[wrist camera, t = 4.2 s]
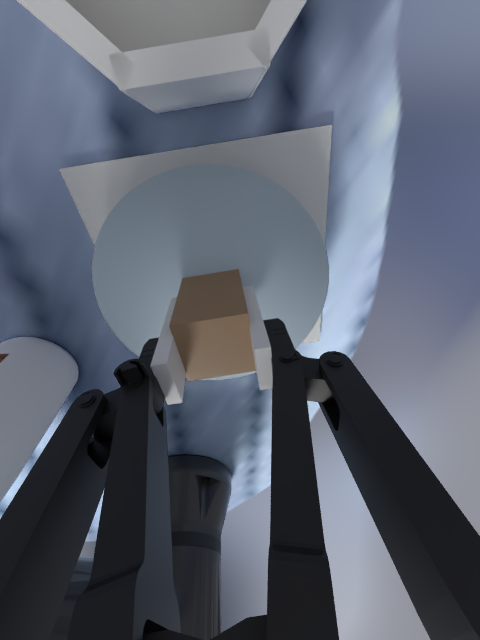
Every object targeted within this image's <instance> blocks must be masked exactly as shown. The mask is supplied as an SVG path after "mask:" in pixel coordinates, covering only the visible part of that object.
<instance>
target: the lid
mask: <svg viewBox="0 0 480 640" xmlns="http://www.w3.org/2000/svg"><path fill="white" fill-rule="evenodd" d="M92 281H93V289H94V293H95V297H96V300H97V304H98V306H99V308H100V311H101V313H102V315H103V317H104V319H105V321H106V322H107V324H108V326H109V327H110V329H111V330H112V331H113V333H114V334H115V335H116V336H117V338H118V339H119V340H120V341H121V342H122V343H123V344H124V345H125V346H126V347H127V348H128V349H129V350H130V351H132V352H133V353H134V354H136V355H137V356H138V357H140V354H141V351H142V348H143V346H144V344H145V343H146V342H147V341H148V340H149V339H152V338H158V337H159V336H160V333H161V330H162V327H163V324H164V320H165V317H166V314H167V311H168V308H169V304H170V301H171V298H175V297H177V299H176V303H175V306H174V310H173V314H172V317H171V321H170V324H169V327H170V330H171V333H172V336H173V337H174V340H175V343H176V346H177V349H178V352H179V354H180V357H181V360H182V363H183V366H184V369H185V371H186V377H187V378H188V381H196V380H225V379H233V378H238V377H243V376H247V375H250V374H253V373H256V368H255V363H254V355H253V348H252V341H251V334H250V326H249V324H250V323H249V316H248V310H247V305H246V301H245V296H244V291H243V287H244V286H251V285H253V288H254V291H255V294H256V298H257V301H258V305H259V308H260V311H261V315H262V318H263V320H268V319H275V318H279V319H280V320H282V321H283V322H284V324H285V326H286V329H287V331H288V334H289V336H290V338H291V341H292V343H293V346H294V348H295V349H296V348H297V347H298V346H299V345H300V344H301V343H302V342H303V341H304V340H305V338H306V337H307V336H308V334H309V333H310V332H311V330H312V329H313V327H314V325H315V324H316V322H317V320H318V319H319V316H320V314H321V312H322V309H323V307H324V303H325V300H326V296H327V291H328V283H329V264H328V258H327V252H326V248H325V245H324V242H323V239H322V236H321V234H320V232H319V230H318V228H317V226H316V224H315V222H314V221H313V219H312V218H311V216H310V215H309V213H308V212H307V210H306V209H305V208H304V207H303V206H302V205H301V204H300V203H299V201H298V200H297V199H296V198H295V197H294V196H292V195H291V194H290V193H289V192H287V191H286V190H285V189H284V188H282V187H281V186H280V185H278V184H276V183H275V182H273V181H271V180H269V179H268V178H266V177H264V176H262V175H259V174H257V173H254V172H251V171H249V170H246V169H243V168H238V167H234V166H229V165H222V164H196V165H187V166H183V167H179V168H175V169H171V170H167V171H165V172H162V173H160V174H158V175H155V176H153V177H151V178H149V179H147V180H146V181H144V182H142V183H141V184H139V185H138V186H136V187H134V188H133V189H132V190H131V191H130V192H129V193H128V194H126V195H125V196H124V197H123V198H122V199H121V200H120V201H119V202H118V203H117V205H116V206H115V207H114V208H113V209H112V211H111V212H110V213H109V215H108V217H107V218H106V220H105V222H104V224H103V225H102V227H101V229H100V232H99V235H98V237H97V240H96V243H95V247H94V252H93V258H92Z"/></svg>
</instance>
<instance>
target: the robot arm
mask: <svg viewBox="0 0 480 640" xmlns="http://www.w3.org/2000/svg"><path fill="white" fill-rule="evenodd" d="M243 291H244V296H245V301H246V305H247V310H248V316H249V323H250V324H249V326H250V334H251V341H252V348H253V355H254V363H255V368H256V373H257V378H258V384H259V389H260V390H266V389H272V454H271V523H270V525H271V526H270V547H269V558H268V598H267V615H262V616H256V617H249V618H246V619H244V620H243V621H241V622H239V623H237V624H236V625H234V626H232V627H231V628H229V629H227V630H226V631H224V632H222V600H221V533H222V528H223V524H224V520H225V516H226V512H227V508H228V503H229V499H230V495H231V474H230V471H229V470H228V468H227V467H226V466H224V465H223V464H221V463H220V462H218V461H215V460H213V459H210V458H206V457H201V456H192V455H180V456H171V457H168V449H167V427H166V411H165V408H164V406H163V403H164V399H165V400H166V402H167V404H168V405H170V404H177V403H182V402H183V395H184V387H185V380H186V371H185V369H184V366H183V363H182V360H181V357H180V354H179V352H178V349H177V346H176V343H175V340H174V337H173V336H172V333H171V330H170V327H169V324H170V321H171V317H172V314H173V310H174V306H175V303H176V299H177V297H175V298H171V301H170V304H169V308H168V311H167V314H166V317H165V320H164V324H163V327H162V330H161V333H160V336H159V337H158V338H152V339H149V340H148V341H147V342H146V343H145V344H144V346H143V348H142V351H141V354H140V358H139V359H132V360H128V361H126V362H124V363H122V364H120V365H119V366H118V367H117V368H116V369H115V371H114V375H115V377H116V379H117V380H118V382H119V384H120V386H121V387H120V388H118V389H116V390H114V391H111V392H109V393H106V394H103V392H102V391H100V390H99V389H93V390H90V391H87V392H85V393H83V394H81V395H80V396H79V397H78V398H77V399H76V400H75V401H74V402H73V404H72V405H71V407H70V408H69V410H68V412H67V413H66V415H65V416H64V418H63V420H62V421H61V423H60V424H59V426H58V428H57V429H56V431H55V432H54V434H53V436H52V437H51V439H50V440H49V442H48V444H47V445H46V447H45V448H44V450H43V452H42V453H41V455H40V456H39V458H38V460H37V461H36V463H35V465H34V466H33V468H32V469H31V471H30V473H29V474H28V476H27V477H26V479H25V481H24V482H23V484H22V485H21V487H20V489H19V490H18V492H17V493H16V495H15V497H14V498H13V500H12V501H11V503H10V505H9V506H8V508H7V509H6V511H5V513H4V514H3V516H2V517H1V519H0V640H339V636H338V628H337V620H336V612H335V604H334V596H333V588H332V581H331V574H330V567H329V561H328V556H327V553H326V549H325V543H324V536H323V528H322V519H321V511H320V503H319V495H318V487H317V479H316V470H315V463H314V455H313V447H312V438H311V430H310V422H309V414H308V405H307V401H315V402H318V403H319V405H320V407H321V409H322V412H323V414H324V416H325V418H326V420H327V422H328V424H329V426H330V428H331V431H332V433H333V435H334V437H335V439H336V441H337V444H338V446H339V448H340V450H341V452H342V454H343V456H344V458H345V461H346V463H347V464H348V467H349V469H350V471H351V473H352V475H353V478H354V479H355V482H356V484H357V486H358V488H359V490H360V492H361V494H362V497H363V499H364V500H365V503H366V505H367V507H368V509H369V511H370V514H371V516H372V518H373V520H374V522H375V524H376V526H377V529H378V531H379V533H380V535H381V537H382V539H383V541H384V543H385V545H386V547H387V550H388V552H389V554H390V556H391V558H392V560H393V562H394V565H395V567H396V569H397V571H398V573H399V575H400V577H401V580H402V582H403V584H404V586H405V588H406V590H407V592H408V594H409V596H410V598H411V601H412V603H413V605H414V607H415V609H416V611H417V613H418V616H419V617H420V619H421V621H422V623H423V625H424V627H425V629H426V631H427V633H428V635H429V637H430V639H431V640H480V536H479V535H478V533H477V532H476V531H475V529H474V528H473V526H472V525H471V524H470V522H469V521H468V520H467V518H466V517H465V516H464V514H463V513H462V511H461V510H460V509H459V507H458V506H457V505H456V503H455V502H454V501H453V499H452V498H451V496H450V495H449V494H448V492H447V491H446V490H445V488H444V487H443V486H442V484H441V483H440V481H439V480H438V479H437V478H436V476H435V475H434V473H433V472H432V471H431V469H430V468H429V466H428V465H427V464H426V462H425V461H424V460H423V458H422V457H421V456H420V455H419V453H418V451H417V450H416V449H415V447H414V446H413V445H412V443H411V442H410V440H409V439H408V438H407V436H406V435H405V434H404V432H403V431H402V430H401V428H400V427H399V425H398V424H397V423H396V421H395V420H394V419H393V417H392V416H391V415H390V413H389V412H388V411H387V409H386V408H385V406H384V405H383V404H382V402H381V401H380V400H379V398H378V397H377V396H376V394H375V393H374V391H373V390H372V389H371V387H370V386H369V385H368V383H367V382H366V380H365V379H364V378H363V376H362V375H361V374H360V372H359V371H358V370H357V368H356V367H355V366H354V364H353V363H352V361H351V360H350V359H349V358H348V357H347V356H346V355H345V354H343V353H340V352H336V351H330V352H326V353H324V354H322V355H321V356H320V359H314V358H307V357H304V356H302V355H300V353H299V352H298V351H296V350H295V348H294V346H293V343H292V341H291V338H290V336H289V334H288V331H287V329H286V326H285V324H284V322H283V321H282V320H280V319H279V318H275V319H268V320H263V318H262V315H261V311H260V308H259V305H258V301H257V298H256V294H255V291H254V288H253V285H251V286H244V287H243ZM104 488H105V489H104ZM103 491H104V496H103V502H102V508H101V515H100V521H99V527H98V534H97V540H96V547H95V553H94V558H88V557H79V555H80V553H81V550H82V548H83V545H84V542H85V539H86V537H87V534H88V531H89V529H90V526H91V523H92V520H93V518H94V515H95V512H96V510H97V507H98V504H99V501H100V499H101V496H102V493H103Z"/></svg>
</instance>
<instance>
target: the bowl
mask: <svg viewBox="0 0 480 640" xmlns="http://www.w3.org/2000/svg"><path fill="white" fill-rule="evenodd" d="M17 1H18V2H19V3H20V4H21V5H22V6H24V7H25V8H26V9H27V10H28V11H30V12H31V13H32V14H33V15H34V16H35V17H37V18H38V19H39V20H40V21H41V22H42V23H44V24H45V25H46V26H47V27H48V28H50V29H51V30H52V31H53V32H54V33H55V34H57V35H58V36H59V37H60V38H61V39H63V40H64V41H65V42H66V43H67V44H68V45H70V46H71V47H72V48H73V49H74V50H75V51H77V52H78V53H79V54H80V55H81V56H83V57H84V58H85V59H86V60H87V61H88V62H90V63H91V64H92V65H93V66H94V67H96V68H97V69H98V70H99V71H100V72H101V73H103V74H104V75H105V76H106V77H107V78H108V79H110V80H111V81H112V82H113V83H114V84H116V85H117V86H118V87H119V90H120V91H121V92H123V93H124V94H126V95H128V96H129V97H131V98H132V99H134V100H135V101H137V102H139V103H140V104H142V105H143V106H145V107H146V108H148V109H150V110H151V111H153V112H154V113H157V114H160V113H163V112H169V111H175V110H181V109H187V108H193V107H199V106H205V105H211V104H217V103H223V102H230V101H236V100H242V99H248V100H249V98H251V97H252V95H253V94H254V92H255V90H256V89H257V87H258V85H259V84H260V82H261V80H262V79H263V77H264V75H265V74H266V72H267V70H268V69H269V67H270V63H271V61H272V59H273V58H274V56H275V54H276V53H277V51H278V49H279V48H280V46H281V44H282V43H283V41H284V39H285V37H286V36H287V34H288V32H289V31H290V29H291V27H292V26H293V24H294V22H295V21H296V19H297V17H298V16H299V14H300V12H301V11H302V9H303V7H304V6H305V4H306V2H307V0H17Z"/></svg>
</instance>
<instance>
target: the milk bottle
mask: <svg viewBox="0 0 480 640" xmlns="http://www.w3.org/2000/svg"><path fill="white" fill-rule="evenodd" d="M78 375H79V370H78V365H77V363H76V361H75V360H74V358H73V357H72V356H71V355H70V354H69V353H68V352H67V351H66V350H64V349H63V348H62V347H60V346H58V345H56V344H54V343H52V342H50V341H47V340H44V339H40V338H36V337H16V338H11V339H8V340H5V341H3V342H1V343H0V501H1V500H2V499H3V498H4V496H5V495H6V493H7V492H8V490H9V489H10V487H11V486H12V484H13V483H14V481H15V480H16V478H17V477H18V475H19V474H20V472H21V471H22V469H23V468H24V466H25V464H26V463H27V461H28V460H29V458H30V457H31V455H32V453H33V452H34V450H35V449H36V447H37V445H38V444H39V442H40V441H41V439H42V437H43V436H44V434H45V433H46V431H47V429H48V428H49V426H50V425H51V423H52V421H53V420H54V418H55V417H56V415H57V413H58V412H59V410H60V408H61V407H62V405H63V404H64V402H65V400H66V399H67V397H68V395H69V394H70V392H71V391H72V389H73V387H74V385H75V384H76V382H77V380H78Z"/></svg>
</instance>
